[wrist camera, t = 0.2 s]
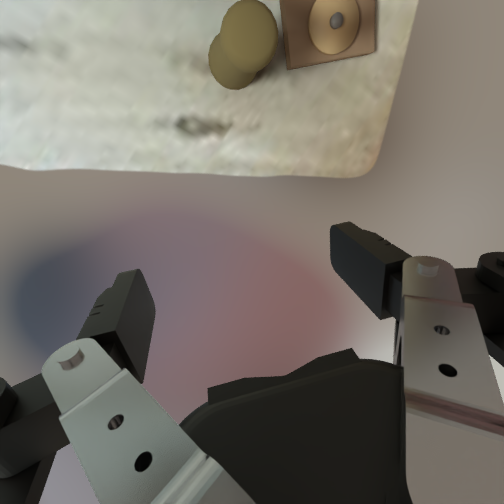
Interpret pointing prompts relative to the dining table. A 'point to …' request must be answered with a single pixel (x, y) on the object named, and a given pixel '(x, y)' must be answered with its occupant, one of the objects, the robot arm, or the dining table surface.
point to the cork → (243, 44)
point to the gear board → (326, 30)
